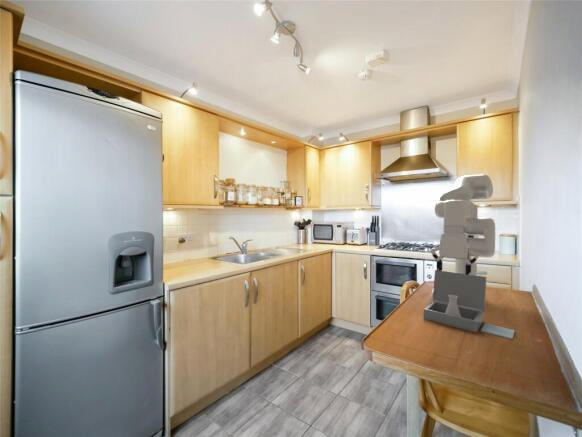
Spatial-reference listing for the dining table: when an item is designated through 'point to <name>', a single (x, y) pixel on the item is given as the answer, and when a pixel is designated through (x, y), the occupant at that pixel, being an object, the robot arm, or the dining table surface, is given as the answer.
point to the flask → (453, 306)
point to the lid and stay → (460, 289)
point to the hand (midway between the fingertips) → (453, 272)
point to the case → (467, 321)
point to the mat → (498, 331)
